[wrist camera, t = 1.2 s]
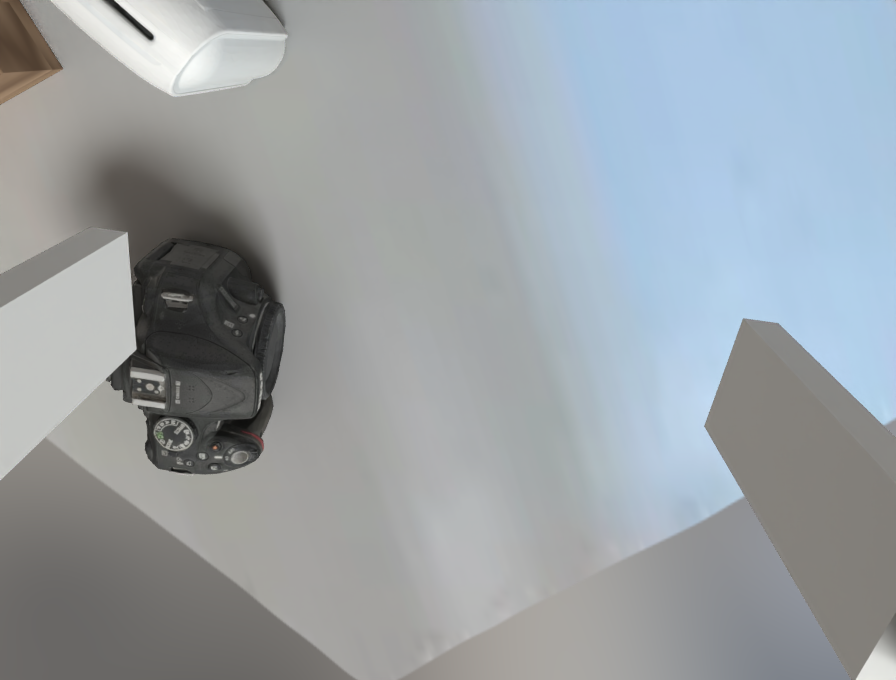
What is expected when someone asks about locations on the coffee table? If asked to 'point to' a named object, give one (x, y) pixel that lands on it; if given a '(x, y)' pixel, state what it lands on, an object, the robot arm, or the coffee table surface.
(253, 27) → the photo printer
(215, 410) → the camera
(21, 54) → the wooden block tray
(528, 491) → the coffee table surface
